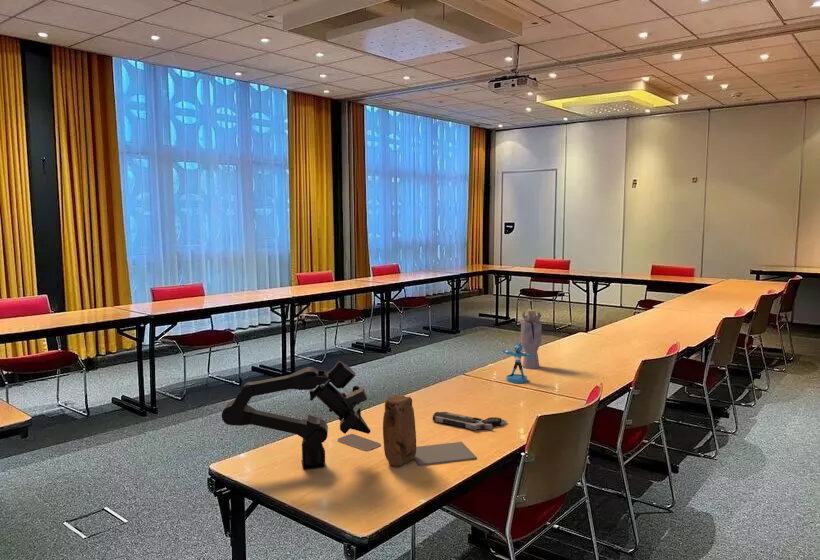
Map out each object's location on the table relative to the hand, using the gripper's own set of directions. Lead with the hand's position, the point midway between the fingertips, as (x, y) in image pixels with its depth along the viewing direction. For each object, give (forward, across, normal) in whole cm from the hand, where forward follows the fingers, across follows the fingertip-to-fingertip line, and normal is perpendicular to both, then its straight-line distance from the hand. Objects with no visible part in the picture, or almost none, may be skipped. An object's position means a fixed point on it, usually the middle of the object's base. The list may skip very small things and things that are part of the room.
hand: (369, 432), depth 183 cm
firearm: (+34, +34, -19) cm, 51 cm away
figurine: (+56, +89, -42) cm, 114 cm away
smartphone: (+4, +17, +10) cm, 20 cm away
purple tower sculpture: (+66, +115, -52) cm, 142 cm away
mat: (+23, +5, -9) cm, 25 cm away
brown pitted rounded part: (+14, 0, 0) cm, 14 cm away
